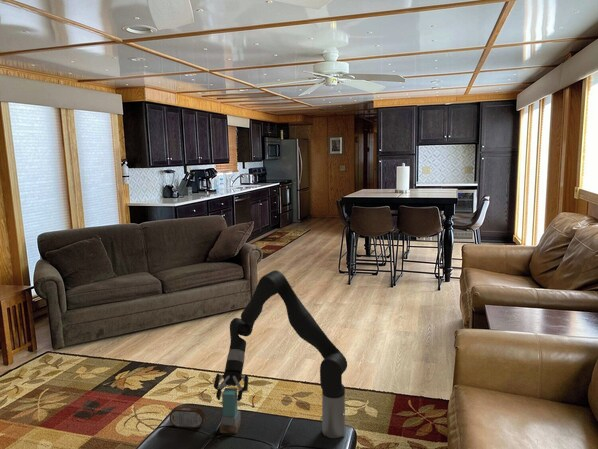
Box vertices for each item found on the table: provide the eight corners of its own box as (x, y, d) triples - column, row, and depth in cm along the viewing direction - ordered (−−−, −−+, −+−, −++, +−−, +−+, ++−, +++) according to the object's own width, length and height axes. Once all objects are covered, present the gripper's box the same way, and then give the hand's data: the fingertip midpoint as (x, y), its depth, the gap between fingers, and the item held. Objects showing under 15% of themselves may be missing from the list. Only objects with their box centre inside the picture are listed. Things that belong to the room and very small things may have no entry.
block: (237, 410, 194) (236, 388, 193) (234, 417, 189) (233, 394, 188) (226, 409, 195) (225, 387, 193) (222, 416, 190) (222, 394, 188)
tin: (205, 425, 195) (205, 406, 194) (203, 429, 192) (202, 410, 191) (171, 423, 197) (170, 405, 196) (169, 427, 194) (168, 409, 193)
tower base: (240, 424, 196) (240, 417, 195) (236, 434, 189) (236, 426, 189) (224, 423, 197) (224, 416, 196) (220, 433, 190) (219, 425, 189)
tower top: (240, 418, 194) (240, 410, 194) (235, 426, 189) (235, 418, 188) (227, 416, 196) (227, 409, 195) (221, 424, 190) (221, 416, 190)
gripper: (217, 358, 198) (209, 396, 188) (249, 359, 196) (243, 398, 186) (221, 364, 204) (214, 401, 194) (252, 366, 202) (246, 403, 192)
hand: (228, 400), depth 190 cm, fingers open, 8 cm apart
